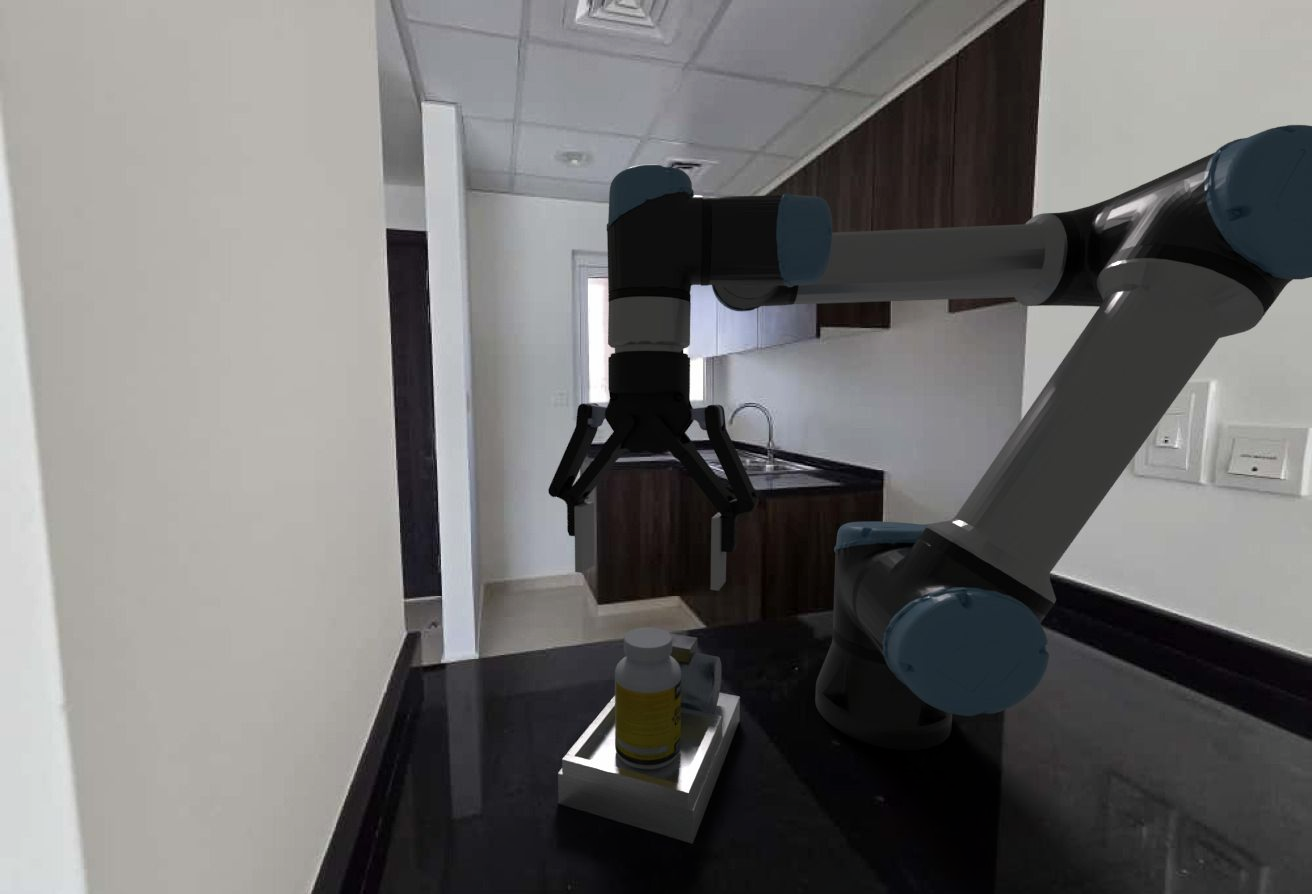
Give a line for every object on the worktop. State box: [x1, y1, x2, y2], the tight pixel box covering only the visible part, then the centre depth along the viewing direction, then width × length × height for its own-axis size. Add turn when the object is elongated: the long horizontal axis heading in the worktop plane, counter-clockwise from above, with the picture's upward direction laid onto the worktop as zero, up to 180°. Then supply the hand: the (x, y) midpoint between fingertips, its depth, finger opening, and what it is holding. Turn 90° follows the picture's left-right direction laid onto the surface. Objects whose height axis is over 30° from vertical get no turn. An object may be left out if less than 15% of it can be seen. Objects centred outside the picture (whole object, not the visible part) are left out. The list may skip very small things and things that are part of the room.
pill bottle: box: [614, 627, 681, 770], centre depth 54 cm, size 6×6×12 cm
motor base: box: [557, 632, 741, 844], centre depth 58 cm, size 19×13×10 cm
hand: (648, 577), depth 53 cm, fingers open, 13 cm apart
